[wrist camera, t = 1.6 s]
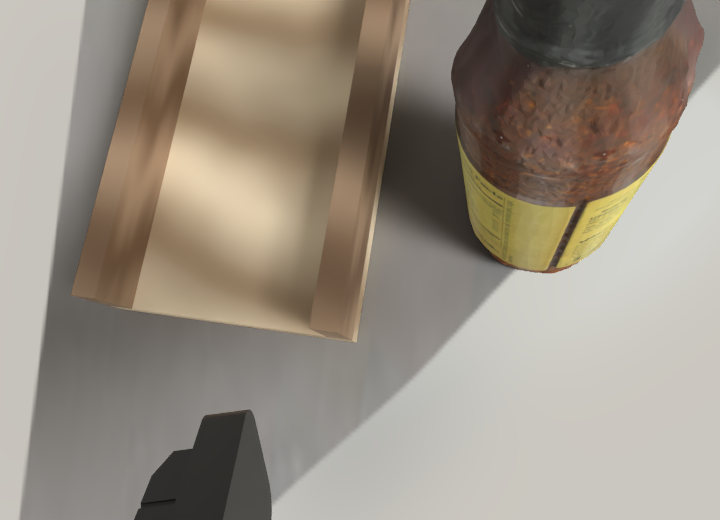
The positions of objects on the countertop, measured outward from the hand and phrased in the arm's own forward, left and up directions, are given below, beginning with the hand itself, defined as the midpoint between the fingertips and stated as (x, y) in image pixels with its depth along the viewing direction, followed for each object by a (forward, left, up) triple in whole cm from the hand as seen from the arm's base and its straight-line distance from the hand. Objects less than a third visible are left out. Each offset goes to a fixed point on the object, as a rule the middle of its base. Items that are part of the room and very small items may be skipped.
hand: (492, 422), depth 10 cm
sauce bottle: (-9, +1, -17) cm, 19 cm away
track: (-12, -12, -16) cm, 24 cm away
